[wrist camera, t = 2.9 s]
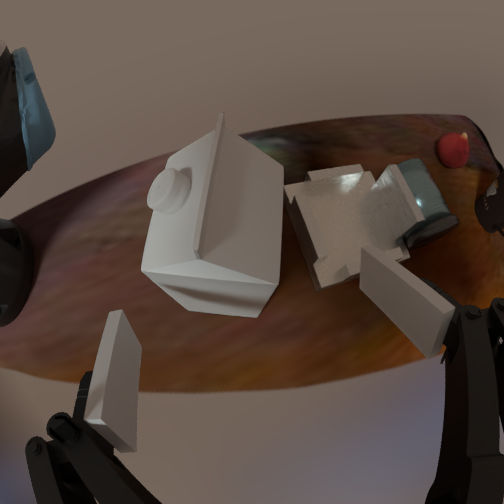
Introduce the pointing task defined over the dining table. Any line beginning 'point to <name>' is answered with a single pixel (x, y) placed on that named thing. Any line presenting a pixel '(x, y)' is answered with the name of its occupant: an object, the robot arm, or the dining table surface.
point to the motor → (364, 216)
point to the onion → (454, 149)
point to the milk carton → (217, 225)
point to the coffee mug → (492, 206)
